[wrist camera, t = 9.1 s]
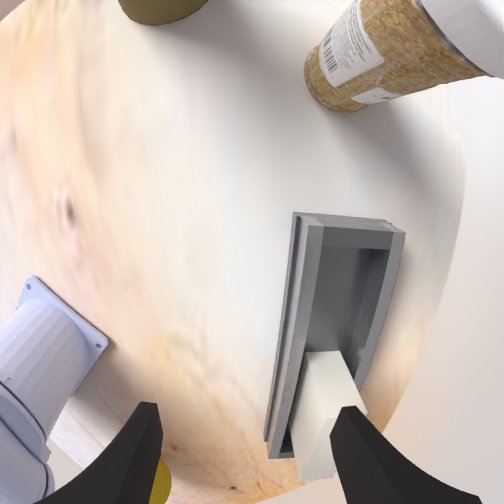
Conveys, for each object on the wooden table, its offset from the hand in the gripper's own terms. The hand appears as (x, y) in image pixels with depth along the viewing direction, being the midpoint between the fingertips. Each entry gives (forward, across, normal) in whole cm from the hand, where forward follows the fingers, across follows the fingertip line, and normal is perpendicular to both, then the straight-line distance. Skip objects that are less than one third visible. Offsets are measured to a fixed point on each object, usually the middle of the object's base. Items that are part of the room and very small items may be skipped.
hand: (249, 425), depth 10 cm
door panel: (+8, -6, +7) cm, 12 cm away
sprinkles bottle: (+10, -4, -15) cm, 18 cm away
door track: (+9, -6, +4) cm, 11 cm away
